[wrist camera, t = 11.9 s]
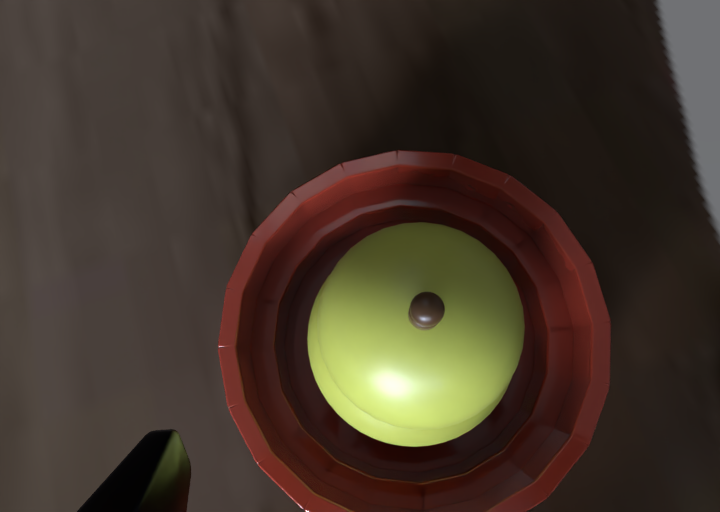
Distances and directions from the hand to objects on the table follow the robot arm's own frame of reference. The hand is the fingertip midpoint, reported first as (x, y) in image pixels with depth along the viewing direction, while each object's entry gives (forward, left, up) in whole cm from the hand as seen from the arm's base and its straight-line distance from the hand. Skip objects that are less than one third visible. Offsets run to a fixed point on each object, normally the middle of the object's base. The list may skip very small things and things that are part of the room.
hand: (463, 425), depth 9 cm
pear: (+2, -1, -13) cm, 13 cm away
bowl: (+2, -1, -13) cm, 13 cm away
